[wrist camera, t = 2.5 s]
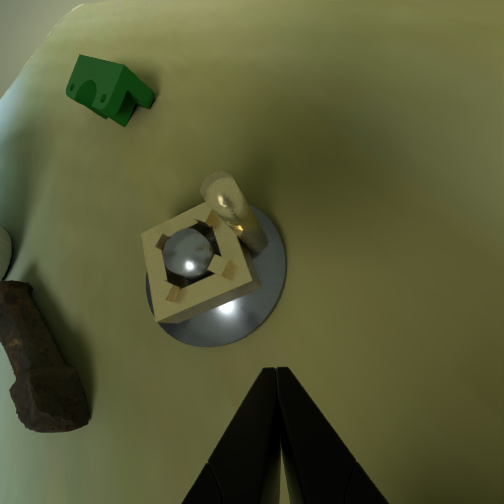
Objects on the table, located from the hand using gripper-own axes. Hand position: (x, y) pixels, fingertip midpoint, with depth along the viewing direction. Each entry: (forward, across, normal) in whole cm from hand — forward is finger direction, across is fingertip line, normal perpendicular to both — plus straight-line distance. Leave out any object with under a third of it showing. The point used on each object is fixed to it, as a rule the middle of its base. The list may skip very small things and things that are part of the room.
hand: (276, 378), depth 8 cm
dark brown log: (+15, +24, +8) cm, 29 cm away
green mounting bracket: (+32, +20, -21) cm, 43 cm away
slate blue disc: (+15, +5, 0) cm, 16 cm away
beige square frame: (+14, +5, -1) cm, 14 cm away
